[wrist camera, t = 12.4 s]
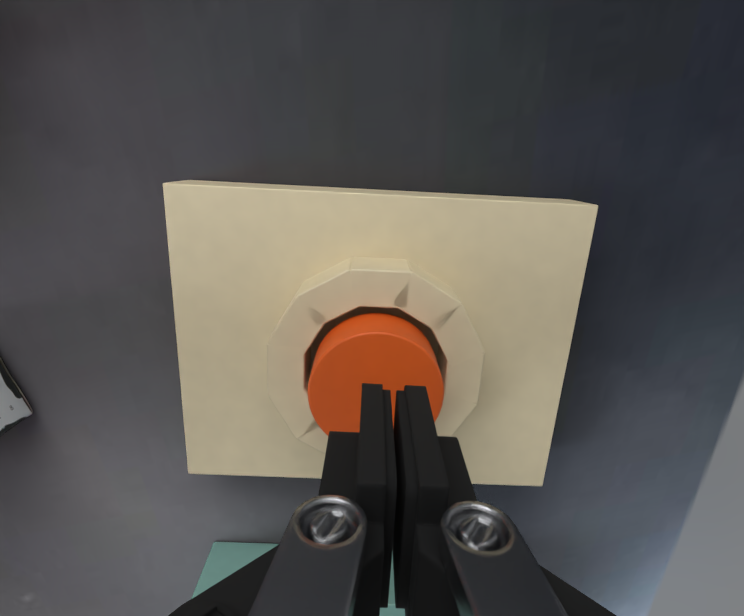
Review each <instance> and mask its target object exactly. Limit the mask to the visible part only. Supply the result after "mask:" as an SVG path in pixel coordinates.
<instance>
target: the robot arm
mask: <svg viewBox="0 0 744 616" xmlns="http://www.w3.org/2000/svg"><path fill="white" fill-rule="evenodd" d="M392 550H393V571H394V591H395V607H396V608H400V609H405V616H616V615H615V614H613V613H612V612H610V611H609V610H607V609H606V608H604V607H602V606H601V605H599V604H598V603H596V602H595V601H593V600H592V599H590V598H589V597H587V596H586V595H584V594H583V593H581V592H580V591H578V590H577V589H575V588H574V587H572V586H570V585H569V584H567V583H566V582H564V581H563V580H561V579H560V578H558V577H557V576H555V575H554V574H552V573H551V572H549V571H548V570H546V569H545V568H543V567H541V566H540V565H538V563H537V561H536V560H535V558H534V556H533V555H532V553H531V551H530V549H529V548H528V546H527V544H526V543H525V541H524V539H523V537H522V536H521V534H520V532H519V531H518V529H517V527H516V525H515V524H514V523H513V522H512V520H511V519H510V518H509V517H508V516H507V515H506V514H505V513H503V512H502V511H501V510H499V509H497V508H495V507H493V506H491V505H489V504H485V503H482V502H478V501H477V500H476V496H475V493H474V490H473V487H472V483H471V480H470V477H469V473H468V470H467V467H466V464H465V460H464V457H463V454H462V451H461V447H460V444H459V441H458V439H457V437H448V436H437V432H436V427H435V423H434V419H433V415H432V410H431V406H430V402H429V397H428V393H427V389H426V386H412V385H405V386H404V391H403V390H397V391H396V401H395V415H394V428H393V419H392V405H391V391H390V390H383V385H382V384H370V383H362V394H361V413H360V431H359V432H340V431H330V432H329V436H328V442H327V448H326V454H325V460H324V466H323V472H322V478H321V484H320V490H319V496H317V497H314V498H311V499H309V500H307V501H305V502H304V503H302V504H301V505H300V506H299V507H298V508H297V509H296V510H295V512H294V513H293V515H292V517H291V519H290V522H289V524H288V526H287V528H286V531H285V533H284V535H283V537H282V540H281V542H280V544H279V545H277V546H276V547H274V548H272V549H271V550H269V551H268V552H266V553H264V554H263V555H261V556H260V557H258V558H256V559H255V560H253V561H252V562H250V563H248V564H247V565H245V566H244V567H242V568H240V569H239V570H237V571H236V572H234V573H232V574H231V575H229V576H228V577H226V578H224V579H223V580H221V581H220V582H218V583H216V584H215V585H213V586H212V587H210V588H208V589H207V590H205V591H204V592H202V593H200V594H199V595H197V596H196V597H194V598H192V599H191V600H189V601H188V602H186V603H184V604H183V605H181V606H180V607H179V608H177V609H176V610H175V611H174V612H172V613H171V614H170V615H169V616H379V615H380V608H388V598H389V586H390V573H391V561H392Z"/></svg>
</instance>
